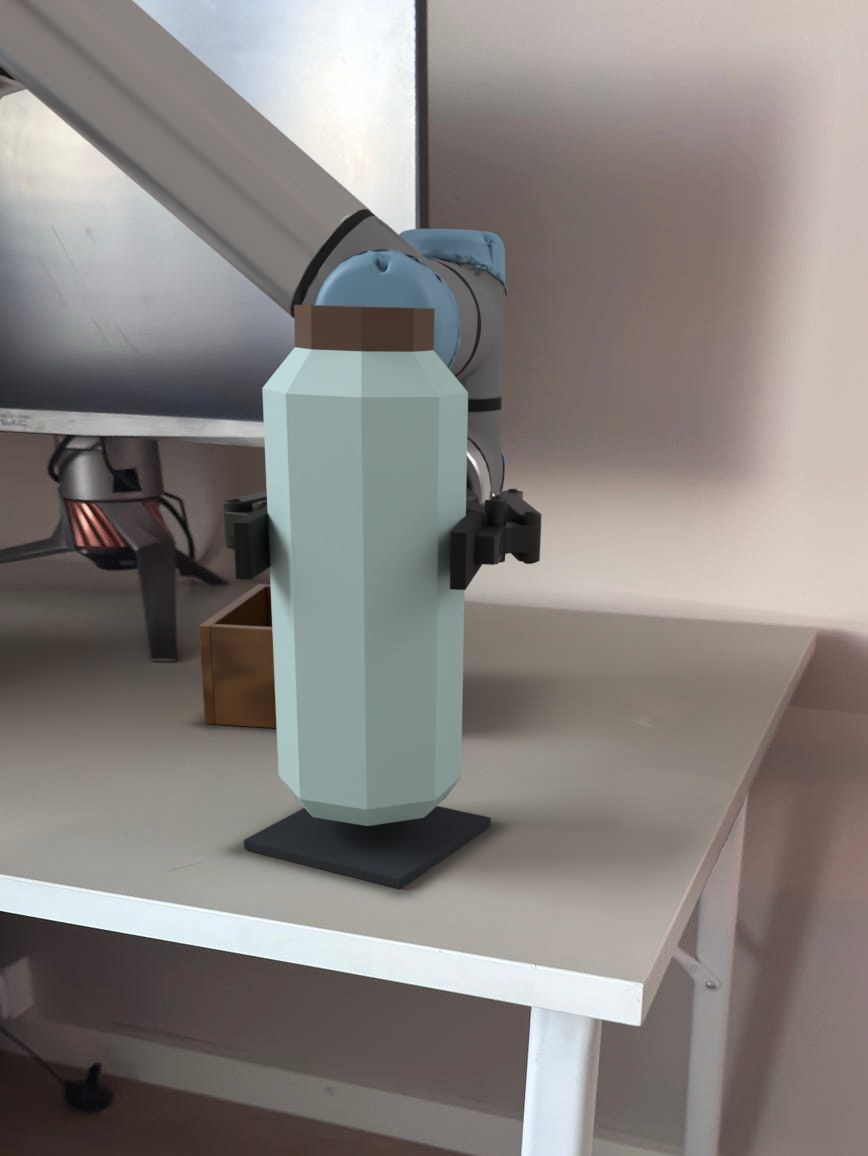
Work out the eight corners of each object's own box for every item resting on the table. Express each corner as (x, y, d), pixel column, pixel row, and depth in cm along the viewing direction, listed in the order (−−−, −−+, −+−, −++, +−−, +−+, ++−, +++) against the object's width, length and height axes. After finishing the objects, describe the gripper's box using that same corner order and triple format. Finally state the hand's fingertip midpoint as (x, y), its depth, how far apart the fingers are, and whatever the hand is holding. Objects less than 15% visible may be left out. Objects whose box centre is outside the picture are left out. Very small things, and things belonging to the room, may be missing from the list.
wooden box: (204, 723, 90) (198, 625, 88) (262, 670, 104) (258, 583, 101) (409, 736, 89) (409, 637, 86) (440, 680, 102) (441, 592, 99)
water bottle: (365, 847, 64) (358, 307, 55) (241, 796, 71) (214, 302, 61) (497, 798, 71) (512, 310, 61) (374, 755, 77) (369, 306, 68)
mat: (243, 849, 70) (243, 839, 70) (345, 794, 78) (345, 785, 78) (400, 889, 66) (400, 878, 65) (490, 826, 74) (491, 817, 74)
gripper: (597, 561, 82) (579, 645, 62) (256, 546, 84) (130, 621, 64) (604, 439, 79) (587, 484, 59) (250, 426, 82) (116, 466, 61)
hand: (349, 556), depth 61 cm, fingers closed on water bottle, 10 cm apart
